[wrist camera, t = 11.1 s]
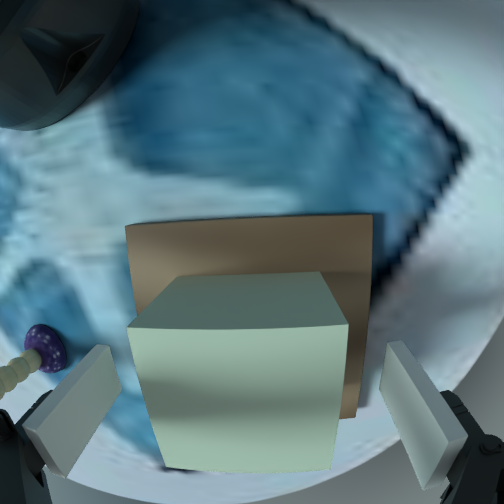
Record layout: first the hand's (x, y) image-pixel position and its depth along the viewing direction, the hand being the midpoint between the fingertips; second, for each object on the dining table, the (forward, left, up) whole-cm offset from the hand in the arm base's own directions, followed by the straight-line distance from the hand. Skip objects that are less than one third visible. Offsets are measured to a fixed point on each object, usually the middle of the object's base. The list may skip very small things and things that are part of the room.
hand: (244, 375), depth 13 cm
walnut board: (+1, 0, -6) cm, 6 cm away
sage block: (+1, 0, -5) cm, 5 cm away
